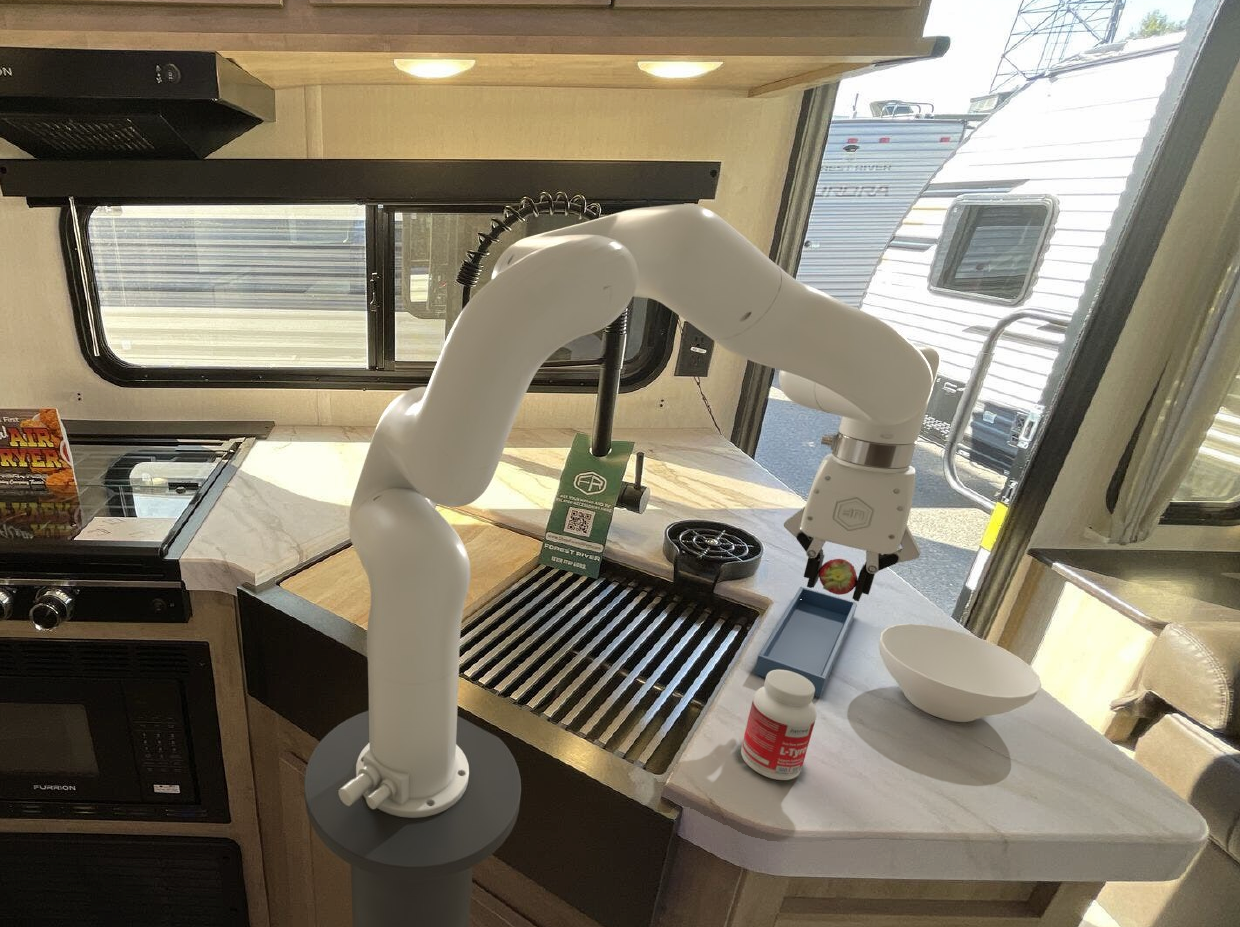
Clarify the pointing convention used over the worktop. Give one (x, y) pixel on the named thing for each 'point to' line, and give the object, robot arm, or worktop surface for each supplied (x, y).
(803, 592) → the tray
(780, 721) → the pill bottle
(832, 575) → the fruit
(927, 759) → the worktop surface
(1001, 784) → the worktop surface
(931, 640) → the bowl
